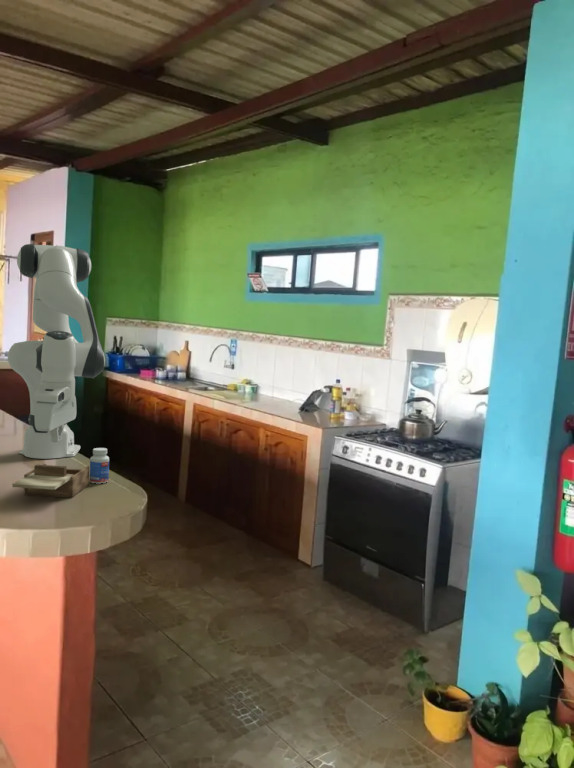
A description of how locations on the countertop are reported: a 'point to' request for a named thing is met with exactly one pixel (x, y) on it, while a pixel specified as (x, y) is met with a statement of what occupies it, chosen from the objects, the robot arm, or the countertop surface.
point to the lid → (44, 477)
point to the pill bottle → (99, 466)
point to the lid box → (64, 485)
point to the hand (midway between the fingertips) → (56, 441)
